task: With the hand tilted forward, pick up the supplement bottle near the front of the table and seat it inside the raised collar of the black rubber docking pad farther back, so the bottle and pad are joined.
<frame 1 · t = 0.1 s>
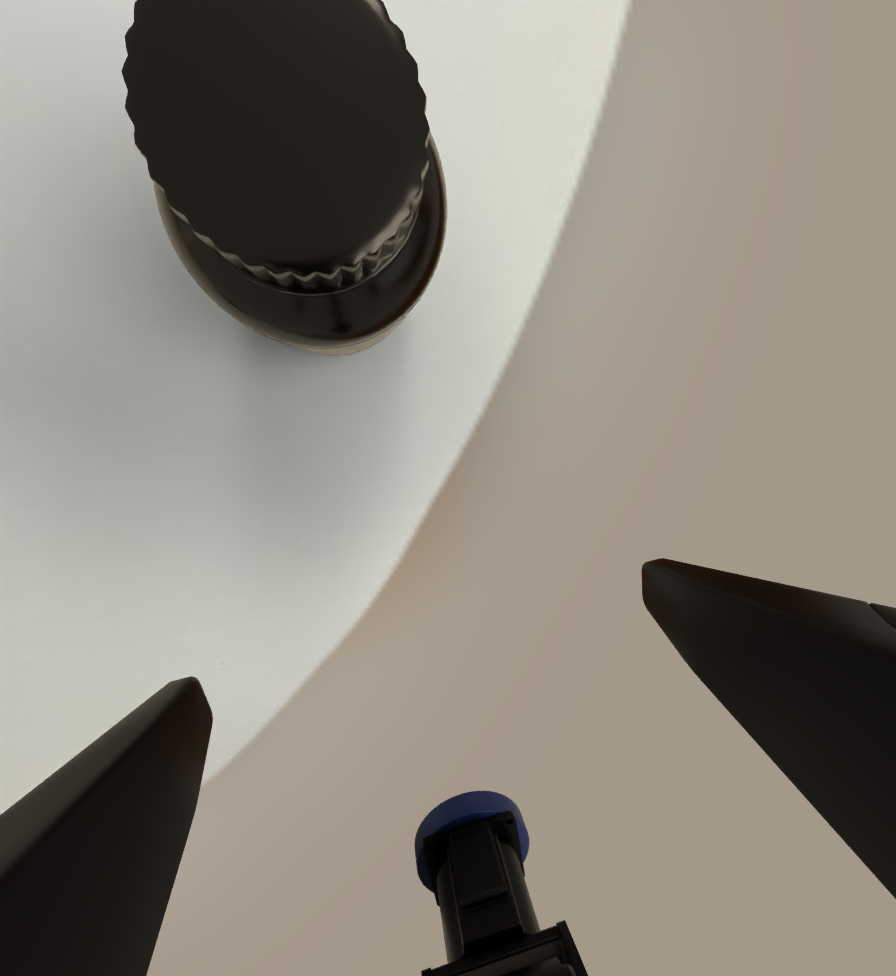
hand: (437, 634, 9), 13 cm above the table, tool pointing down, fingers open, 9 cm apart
supplement bottle: (332, 271, 19), on the table
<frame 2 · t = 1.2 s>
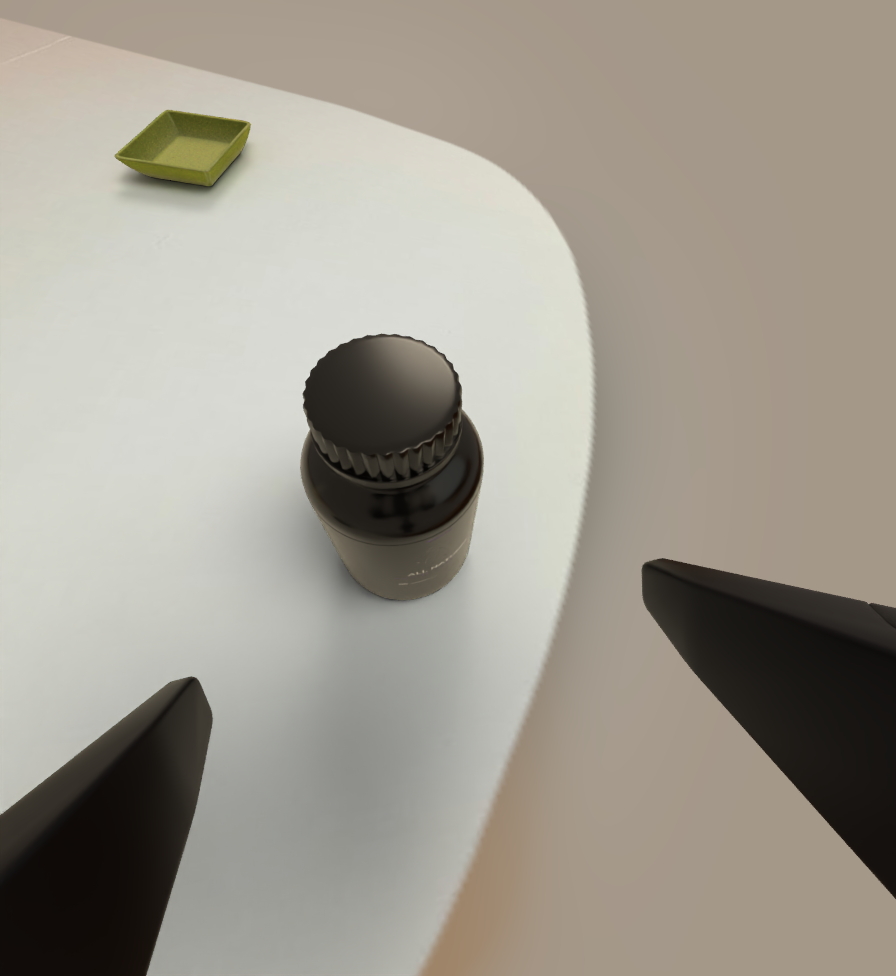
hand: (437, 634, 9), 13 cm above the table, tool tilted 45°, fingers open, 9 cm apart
supplement bottle: (407, 540, 24), on the table
olive green square dish: (197, 166, 41), on the table
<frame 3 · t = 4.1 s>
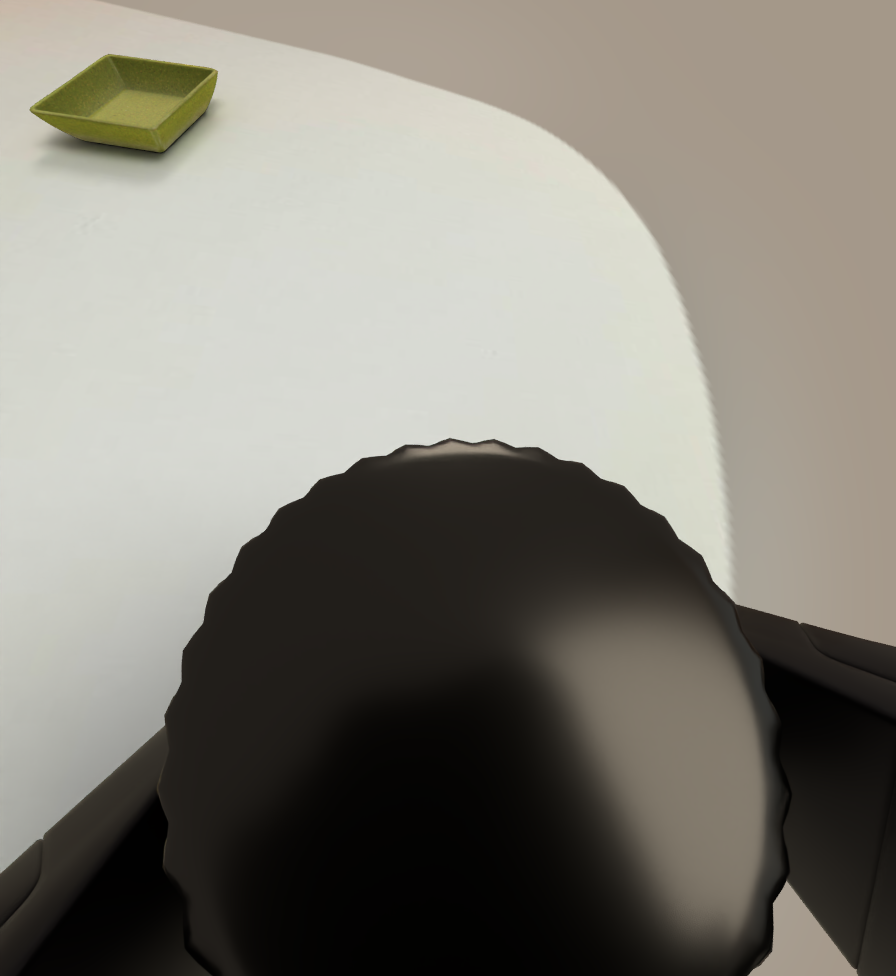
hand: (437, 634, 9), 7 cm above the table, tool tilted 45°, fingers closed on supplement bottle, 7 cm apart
supplement bottle: (447, 715, 14), on the table, touching gripper
olive green square dish: (148, 128, 31), on the table
when the fingers open (7 cm above the table, at t = 12.3 s): supplement bottle stays where it is, resting on dock pad.
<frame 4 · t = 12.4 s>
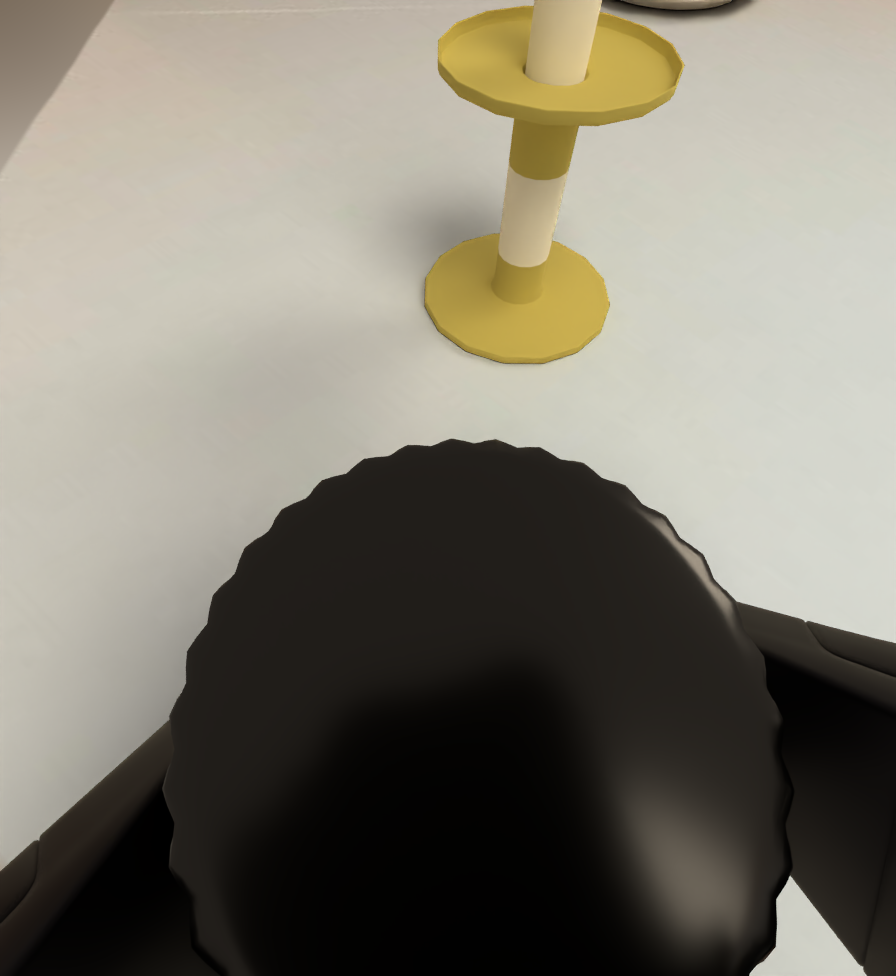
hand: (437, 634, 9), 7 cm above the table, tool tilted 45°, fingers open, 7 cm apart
candle: (515, 298, 24), on the table
supplement bottle: (448, 715, 14), resting on dock pad
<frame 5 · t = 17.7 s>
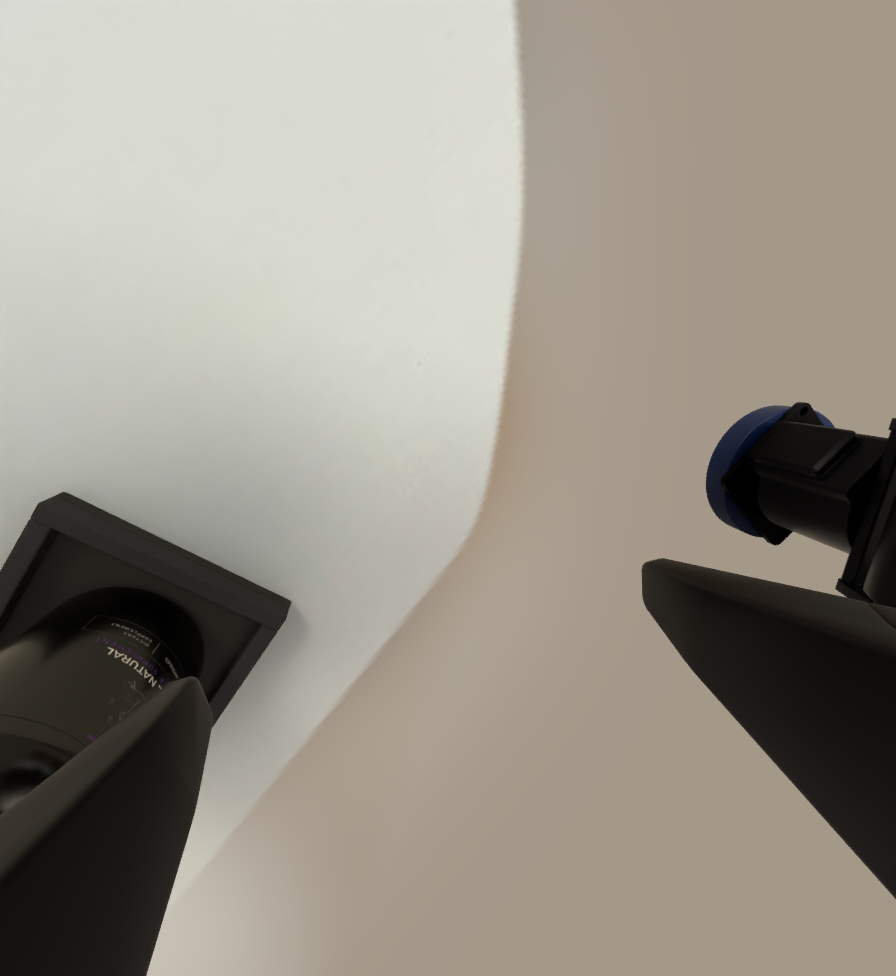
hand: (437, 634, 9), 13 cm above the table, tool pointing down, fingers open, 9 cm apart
dock pad: (131, 638, 21), on the table
supplement bottle: (130, 643, 21), resting on dock pad
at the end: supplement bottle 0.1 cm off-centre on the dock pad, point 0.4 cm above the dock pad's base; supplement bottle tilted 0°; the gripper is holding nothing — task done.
